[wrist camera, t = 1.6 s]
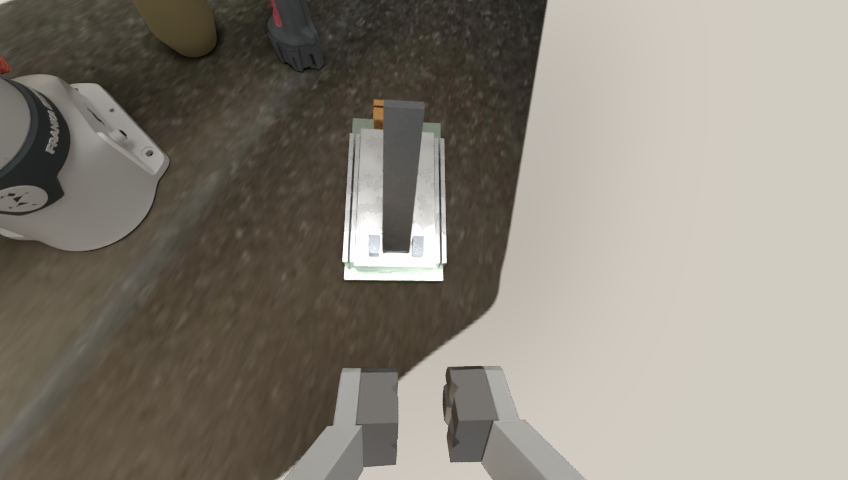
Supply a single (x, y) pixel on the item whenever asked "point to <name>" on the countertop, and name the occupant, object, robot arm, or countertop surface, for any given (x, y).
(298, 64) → the flashlight
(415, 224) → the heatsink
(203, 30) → the squeeze bottle
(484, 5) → the countertop surface
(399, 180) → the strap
